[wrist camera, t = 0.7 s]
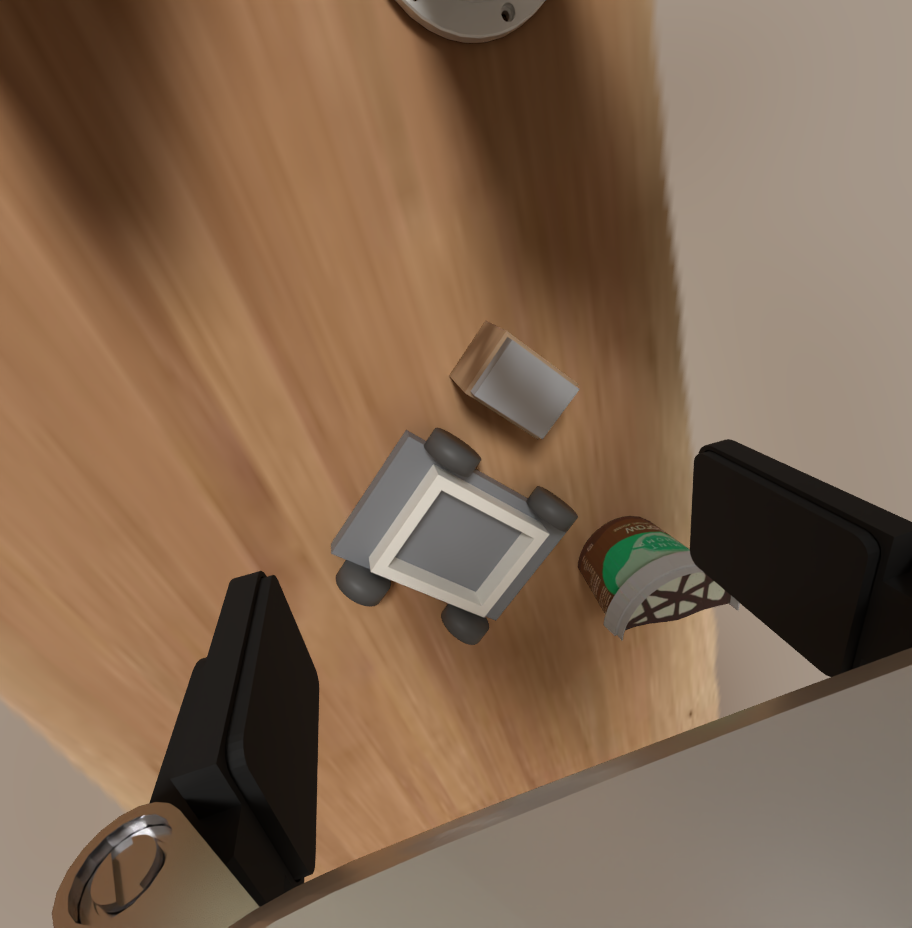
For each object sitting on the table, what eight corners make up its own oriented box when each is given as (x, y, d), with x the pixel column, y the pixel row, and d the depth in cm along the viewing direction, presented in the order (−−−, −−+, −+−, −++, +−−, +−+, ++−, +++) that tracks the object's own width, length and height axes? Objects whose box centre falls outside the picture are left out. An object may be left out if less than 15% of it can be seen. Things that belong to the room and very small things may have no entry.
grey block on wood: (485, 320, 37) (511, 333, 31) (550, 368, 40) (585, 387, 34) (448, 375, 38) (468, 396, 32) (515, 418, 41) (543, 444, 35)
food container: (679, 495, 48) (757, 551, 39) (672, 545, 51) (744, 609, 42) (565, 518, 46) (621, 583, 37) (564, 570, 49) (615, 642, 40)
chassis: (417, 413, 38) (426, 432, 34) (573, 505, 46) (596, 530, 42) (321, 557, 42) (321, 590, 38) (482, 621, 49) (495, 654, 45)
